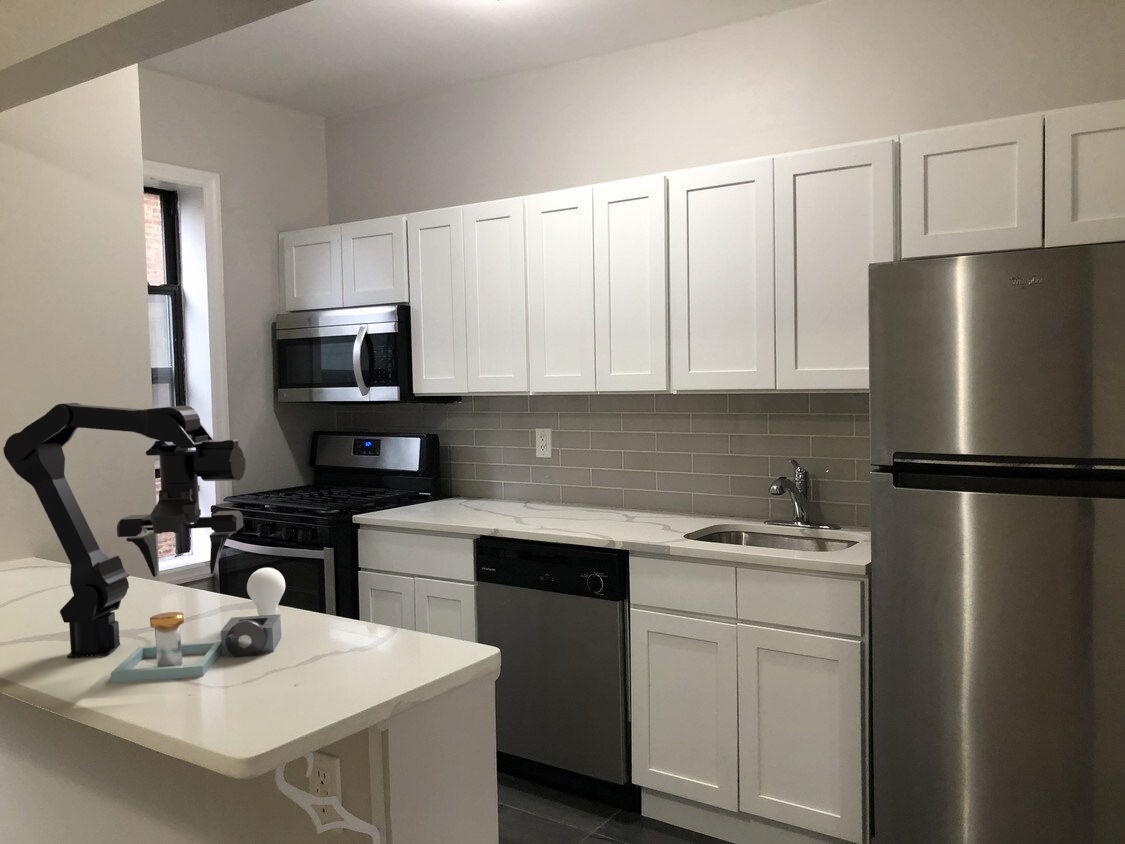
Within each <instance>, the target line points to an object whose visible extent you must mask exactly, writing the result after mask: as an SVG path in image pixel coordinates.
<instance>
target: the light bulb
mask: <svg viewBox="0 0 1125 844" xmlns="http://www.w3.org/2000/svg"><path fill="white" fill-rule="evenodd" d="M285 590H286V581H285V578H284V576H283V574H282V573H281V572H280V571H279V570H277V569H275V568H273V567H262V568H258V569H257V570H256V571H253V573H252V574H251V575H250V576H249V578H248V581H247V584H246V591H247V594H248V596H249V598H250V599H251V601H252V602H253V604H254V605H255V608H256V609H257V611H256V612H257V616H263V615H277V613H278V608H279V607H278V606H279V603H280V601H281V599H282V597H283V595H284V593H285Z"/></svg>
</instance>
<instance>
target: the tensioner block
mask: <svg viewBox="0 0 1125 844" xmlns="http://www.w3.org/2000/svg"><path fill="white" fill-rule="evenodd" d="M281 618H282V617H281V614H279V613H278V614H275V615H263V616H259V615H252V616H238V617H236V616H235V617H233V616H232V617H230V618H229V620H228V621H227V622H226V623H225V625H224V626H223V627H222V629H221V630H220V639H221V640H220V641H221V645H222V652H221V656H223V657H224V656H233V657H234V658H246V657H247V658H248V657H257V656H259V654H261V653H262V654H265V653H273V652H275V651H276V649H277V646H278V645H279V642H280V641H281V640H282V621H281Z"/></svg>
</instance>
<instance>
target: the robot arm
mask: <svg viewBox="0 0 1125 844" xmlns="http://www.w3.org/2000/svg"><path fill="white" fill-rule="evenodd" d="M78 428H80V429H92V430H95V429H96V430H107V431H114V432H115V431H117V432H118V431H119V432H129V433H134V434H135V433H136V434H138V435H141V436H144V437H146V438H149V439H152V440H156V441H154V443H153V445H152V446H151V447H149V449H148V450H146V451H145V455H146V456H152V457H153V456H159V459H158V460H159V476H160V477H159V478H160V479H159V480H160V490H158V501H157V503H156V504H155V506H154V508H153V509H152V511H151V513H150V514H131V515H130V514H129V515H128V516H126V517H123V518H121V519H120V520H119V521H118V522H117V525H116V535H117V538H126V542H127V543H128V542H129V543H133V544H134V545H135V546H136V547H138V549H139V551H140V552H141V554H142V555H143V558H144V560H145V562H146V564H147V567H148V569H149V571H150V573H151V575H152V577H154V578H156V577H157V576H158V570H159V569H158V568H159V564H158V563H159V561H158V550H157V549H158V548H157V539H156V538H157V537H156V536H157V535H160V534H161V535H162V534H163V533H174V534H179V533H183V532H184V531H185V530H186V529H188V530H189V529H205V528H206V529H209V528H210V529H211V530H212V531H213V532H212V533H211V534H209V540H210V558H209V559H210V560H209V569H210V570H209V571H210V574H212V575H214V574H215V572H216V569H217V567H218V563H219V561H220V557H221V554H222V551H223V548H224V546H225V544H226V541H227V539H228V538H229V537H230V536H232V535H233V534H234V533H235V532H238V531H239V530H240V529H242V528H243V527H244V515H243V514H242V512H241V511H240V510H223V511H220V510H219V511H216V512H215V513H213V514H212V515H211V516H201V515H202V509H201V508H200V497H199V492H201V489H200V485H199V478H200V479H201V480H202V481H204V482H227V481H228V482H231V481H232V482H234V481H236V482H238V481H241V479H242V478H243V477H244V475H245V471H246V458H245V457H244V452H243V450H242V449H241V447H240V446H239V440H238V439H237V438H236V439H235V438H234V439H227V440H215V439H214V438H213V436H212V435H211V434H210V433H209V432H208V430H207V429H206V428H205V426H204V425H203V424H202V422H201V418H200V416H199V413H198V412H197V411H196V410H195V408H193V407H192V406H189V405H174V406H166V407H164V406H163V407H156V408H155V407H154V408H144V409H143V408H142V409H139V408H129V407H128V408H127V407H116V406H102V405H91V404H89V405H88V404H82V403H81V404H80V403H78V402H68V403H67V402H66V403H58V404H56V405H54V406H53V407H52V408H51V409H49V411H47V412H46V413H45V414H44V415H43V416H41V417H39V418H37V419H36V420H35V421H33V422H31V423H30V424H28V425H27V426H25V427H24V428H23V429H22V430H20V432H15V433H13V434H11V435H10V436H9V437H8V438H7V440H6V441H5V444H4V446H3V447H2V449H3V450H2V451H3V455H4V458H5V459H6V461H7V462H8V464H9V465H10V467H11V468H12V469H13V470H14V472H15V474H17V476H19V477H20V478H21V479H23V480H24V481H25V482H26V483H28V484H29V485H30V486H31V487H32V488H33V489H34V491H35V493H36V495H37V497H38V499H39V502H40V504H41V505H42V508H43V510H44V512H45V515H46V516H47V519H48V520H49V522H50V524H51V526H52V528H53V530H54V532H55V535H56V537H57V539H58V541H59V542H60V545H61V547H62V549H63V551H64V552H65V554H66V557H67V558H68V561H69V564H70V573H69V575H70V576H69V577H70V578H69V584H70V589H71V591H72V594H73V596H72V597H71V598H70V599H69V600H68V601H67V603H66V604H65V605H63V606H62V608H61V609H60V610H59V614H60V617H61V618H62V621H63V623H68V625H69V626H68V628H69V642H70V644H69V645H70V652H69V653H68V654H67V655H66V659H74V658H89V657H102V656H104V657H105V656H109V655H110V654H111V653H113V652H114V651H115V650H116V649H117V648H118V647H119V646H121V642H120V627H119V625H120V624H119V620H116V614H115V611H117V610H119V609H120V605H121V603H122V600H124V598H125V596H126V595H127V594H128V589H129V588H130V585H129V584H130V583H129V581H128V577H130V574H129V573H128V572H127V571H126V570H125V568H124V565H123V563H122V559H121V557H120V556H119V555H114V556H112V557H109V556H108V555H107V554H106V553H104V552H103V551H102V550H101V547H99V544H98V542H97V540H96V537H95V536H94V534H93V532H92V529H91V528H90V526H89V523H88V521H87V520H86V517H85V516H84V513H83V511H82V510H81V508H80V505H79V503H78V501H77V500H76V497H75V495H74V493H73V491H72V489H71V487H70V485H69V483H68V481H67V479H66V476H65V463H66V457H65V453H64V450H63V447H64V446H65V445H66V444H68V442H70V441H71V439H72V437H73V436H74V435H75V432H76V431H77V429H78ZM168 443H172V444H168ZM194 448H195V449H194ZM198 477H199V478H198Z"/></svg>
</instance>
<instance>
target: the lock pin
mask: <svg viewBox="0 0 1125 844" xmlns="http://www.w3.org/2000/svg"><path fill="white" fill-rule="evenodd" d="M184 623H185V614H184V613H183V612H181V611H169V612H162V613H158V614H155V615H152V616H150V618H149V624H150V625H149V626H150V628H153V629H154V636H155V637H154V638H155V645H156V655H157V657H156V667H170V666H183V655H182V648H181V644H182V637H181V636H182V634H181V633H182V632H181V625H183V624H184Z"/></svg>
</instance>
